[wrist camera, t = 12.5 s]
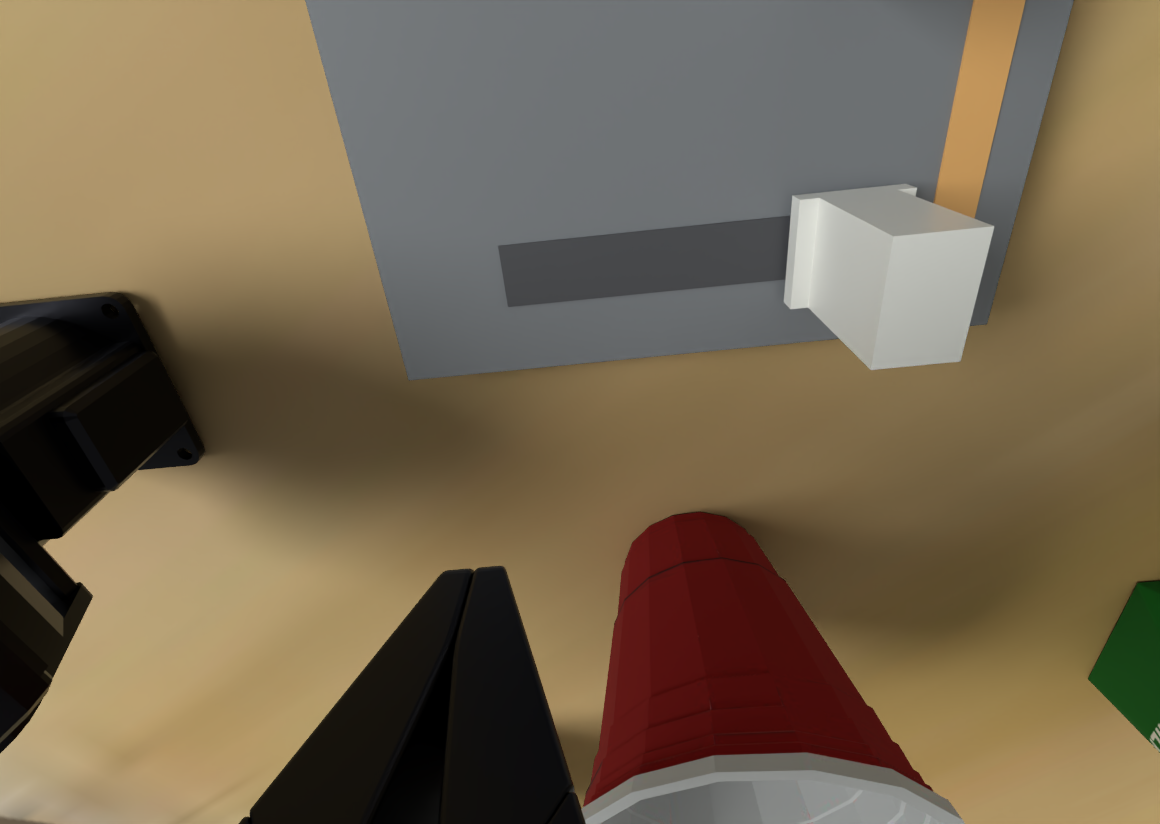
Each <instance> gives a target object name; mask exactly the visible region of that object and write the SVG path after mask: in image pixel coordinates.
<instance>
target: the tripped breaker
mask: <svg viewBox="0 0 1160 824" xmlns="http://www.w3.org/2000/svg"><path fill="white" fill-rule="evenodd" d="M916 191H917V188H916V187H914V186H911V185H908V184H898V185H888V186H879V187H869V188H859V189H850V190H840V191H830V192H821V193H811V194H802V195H792V206H791V218H790V231H789V243H788V255H787V267H786V280H785V292H784V303H785V304H786V305H787V306H788V307H789V308H790V309H799V308H809V309H810V310H811V311H812V312H813V313H814V314H815V315H816V316H817V317H818V318H819V319H820V320H821V321H822V322H823V323H824V324H825V325H826V326H827V327H828V328H829V329H830V330H831V331H832V332H833V333H834V334H835V335H836V336H837V337H838V338H839V339H840V340H841V341H842V342H843V343H844V344H845V345H846V346H847V347H848V348H849V349H850V350H851V351H852V352H853V353H854V354H855V355H856V356H857V357H858V358H859V359H860V360H861V361H862V362H863V363H864V364H865V365H866V366H867V367H868V368H869V369H870V370H876V369H887V368H897V367H908V366H918V365H929V364H939V363H950V362H960V361H961V357H962V353H963V349H964V345H965V341H966V337H967V333H968V329H969V325H970V321H971V317H972V313H973V309H974V305H975V302H976V298H977V294H978V290H979V286H980V282H981V278H982V274H983V270H984V266H985V262H986V258H987V254H988V250H989V246H990V242H991V238H992V234H993V230H994V226H993V225H990V224H987V223H985V222H982V221H979V220H977V219H974V218H971V217H969V216H966V215H963V214H961V213H958V212H955V211H953V210H950V209H947V208H945V207H942V206H939V205H937V204H934V203H931V202H929V201H926V200H923V199H921V198H918V197H916Z"/></svg>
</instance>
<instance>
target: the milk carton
mask: <svg viewBox="0 0 1160 824" xmlns="http://www.w3.org/2000/svg"><path fill="white" fill-rule="evenodd" d="M1088 680H1089V681H1090V682H1091V683H1092V684H1093V685H1094V686H1095V687H1096V688H1097V689H1098V690H1099V691H1100V692H1101V693H1102V694H1103V695H1104V696H1105V697H1106V698H1107V699H1108V700H1109V701H1110V702H1111V703H1112V704H1113V705H1114V706H1115V707H1116V708H1117V709H1118V710H1119V711H1120V712H1121V713H1122V714H1123V715H1124V716H1125V717H1126V718H1127V719H1128V720H1129V721H1130V723H1131V724H1132V725H1133V726H1134V727H1135V728H1136V729H1137V730H1138V731H1139V732H1140V733H1141V734H1142V735H1143V736H1144V737H1145V738H1146V739H1147V740H1148V741H1149V742H1150V743H1151V744H1152V745H1153V746H1154V747H1155V748H1156V749H1157V750H1158V751H1159V752H1160V581H1153V582H1142V583H1137V585H1136V587H1135V589H1134V591H1133V593H1132V595H1131V597H1130V599H1129V601H1128V602H1127V604H1126V606H1125V608H1124V610H1123V612H1122V614H1121V616H1120V618H1119V620H1118V622H1117V624H1116V626H1115V628H1114V630H1113V631H1112V633H1111V635H1110V637H1109V639H1108V641H1107V643H1106V645H1105V647H1104V649H1103V651H1102V653H1101V655H1100V657H1099V659H1098V660H1097V662H1096V664H1095V666H1094V668H1093V670H1092V672H1091V674H1090V676H1089V678H1088Z"/></svg>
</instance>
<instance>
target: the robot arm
mask: <svg viewBox="0 0 1160 824" xmlns="http://www.w3.org/2000/svg"><path fill="white" fill-rule="evenodd" d="M110 304H111V305H113V306H114V307H115V308H116V309H117V310H118V313H119V314H117V313H115V312H113V310H112V309H111V308H110ZM184 448H185V449H187V450H189V451H190V452H191V453H189V452H187V451H186V450H185V449H184ZM204 453H205V449H204V446H203V444H202V442H201V440H200V438H199V436H198V434H197V432H196V430H195V428H194V426H193V424H192V422H191V420H190V418H189V416H188V414H187V412H186V410H185V408H184V406H183V404H182V402H181V400H180V398H179V396H178V394H177V392H176V390H175V388H174V386H173V384H172V382H171V380H170V378H169V376H168V374H167V372H166V370H165V368H164V366H163V364H162V362H161V360H160V358H159V356H158V354H157V352H156V350H155V348H154V346H153V344H152V342H151V340H150V338H149V336H148V334H147V332H146V330H145V328H144V326H143V324H142V322H141V320H140V318H139V316H138V314H137V312H136V310H135V308H134V306H133V304H132V303H131V302H130V300H129V299H128V298H126V297H125V296H124V295H121V294H119V293H115V292H106V293H97V294H87V295H77V296H67V297H58V298H48V299H38V300H29V301H19V302H9V303H0V753H1V752H2V751H3V750H4V749H5V748H6V747H7V746H8V745H9V744H10V743H11V742H12V741H13V740H14V739H15V738H16V737H17V736H18V734H19V733H20V732H21V731H22V730H23V728H24V727H25V726H26V725H27V723H28V722H29V721H30V719H31V718H32V716H33V715H34V713H35V711H36V710H37V708H38V706H39V705H40V703H41V701H42V699H43V697H44V696H45V695H46V694H47V692H48V690H49V687H50V685H51V682H52V679H53V677H54V675H55V672H56V670H57V668H58V666H59V664H60V662H61V660H62V658H63V656H64V654H65V652H66V650H67V648H68V646H69V644H70V642H71V640H72V638H73V636H74V634H75V632H76V630H77V628H78V626H79V624H80V622H81V620H82V618H83V616H84V614H85V612H86V610H87V608H88V606H89V604H90V602H91V600H92V598H93V595H92V594H91V593H90V592H89V591H88V590H87V589H86V587H85V586H84V585H83V584H82V583H81V582H79V583H76V582H75V581H74V580H73V579H72V578H71V577H70V576H69V575H68V574H67V573H66V571H65V570H64V569H63V568H62V567H61V566H60V565H59V564H58V563H57V562H56V561H55V559H54V558H53V557H52V556H51V555H50V554H49V553H48V552H47V551H46V550H45V549H44V548H43V545H44V544H46V543H47V542H48V541H49V540H50V539H58V538H60V537H62V536H63V535H65V534H66V533H67V532H68V531H69V530H70V529H71V528H72V527H73V526H74V525H75V524H76V523H77V522H78V521H79V520H80V519H82V518H83V517H84V516H85V515H86V514H87V513H88V512H89V511H90V510H91V509H92V508H93V507H94V506H95V505H96V504H97V503H99V502H100V501H101V500H102V499H103V498H104V497H105V496H106V495H107V494H108V493H109V492H110V491H115V490H116V489H118V488H119V487H120V486H121V485H122V484H123V483H124V482H125V481H126V480H127V479H129V478H130V477H131V476H132V475H133V474H134V473H135V472H136V471H137V470H144V469H155V468H166V467H176V466H187V465H193V464H196V463H197V462H198V461H199V460H200V459H201V458H202V456H203V455H204ZM239 824H586V823H585V819H584V816H583V813H582V810H581V807H580V803H579V800H578V797H577V795H576V793H575V791H574V786H573V782H572V779H571V776H570V773H569V770H568V766H567V763H566V760H565V757H564V754H563V750H562V747H561V744H560V741H559V738H558V734H557V731H556V728H555V725H554V722H553V718H552V715H551V712H550V709H549V706H548V703H547V699H546V696H545V693H544V690H543V687H542V683H541V680H540V677H539V674H538V671H537V667H536V664H535V661H534V658H533V655H532V651H531V648H530V645H529V642H528V639H527V635H526V632H525V629H524V626H523V623H522V619H521V616H520V613H519V610H518V607H517V604H516V600H515V597H514V594H513V591H512V588H511V584H510V581H509V578H508V575H507V572H506V569H505V568H504V567H503V566H492V567H481V568H477V569H476V570H475V571H474V570H472V569H458V570H447V571H444V572H443V573H442V574H441V575H440V576H439V577H438V578H437V579H436V581H435V582H434V583H433V584H432V586H431V587H430V588H429V589H428V590H427V592H426V593H425V594H424V595H423V597H422V598H421V599H420V600H419V602H418V603H417V604H416V605H415V607H414V608H413V609H412V610H411V612H410V613H409V614H408V615H407V616H406V618H405V619H404V620H403V621H402V623H401V624H400V625H399V626H398V628H397V629H396V630H395V631H394V633H393V634H392V635H391V636H390V637H389V639H388V640H387V641H386V642H385V644H384V645H383V646H382V647H381V649H380V650H379V651H378V652H377V654H376V655H375V656H374V657H373V659H372V660H371V661H370V662H369V663H368V665H367V666H366V667H365V668H364V670H363V671H362V672H361V673H360V675H359V676H358V677H357V678H356V680H355V681H354V682H353V683H352V684H351V686H350V687H349V688H348V689H347V691H346V692H345V693H344V694H343V696H342V697H341V698H340V699H339V701H338V702H337V703H336V704H335V706H334V707H333V708H332V709H331V710H330V712H329V713H328V714H327V715H326V717H325V718H324V719H323V720H322V722H321V723H320V724H319V725H318V727H317V728H316V729H315V730H314V731H313V733H312V734H311V735H310V736H309V738H308V739H307V740H306V741H305V743H304V744H303V745H302V746H301V748H300V749H299V750H298V751H297V753H296V754H295V755H294V756H293V757H292V759H291V760H290V761H289V762H288V764H287V765H286V766H285V767H284V769H283V770H282V771H281V772H280V774H279V775H278V776H277V777H276V779H275V780H274V781H273V782H272V783H271V785H270V786H269V787H268V788H267V790H266V791H265V792H264V793H263V795H262V796H261V797H260V798H259V800H258V801H257V802H256V803H255V804H254V806H253V807H252V808H251V810H250V817H244V818H243V819H242V820H241V821H240V823H239Z"/></svg>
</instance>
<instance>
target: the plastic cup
mask: <svg viewBox="0 0 1160 824" xmlns="http://www.w3.org/2000/svg"><path fill="white" fill-rule="evenodd" d="M581 810H582V813H583V816H584V819H585V823H586V824H965V823H964V821H963V820H962V818H961V817H960V816H959V814H958V813H957V812H956V810H955V809H954V807H953V806H952V805H951V803H950V802H949V801H948V800H947V799H945V798H943V797H942V796H940V795H938V794H936V793H934V792H933V790H932V788H931V787H930V786H929V785H927V784H925V783H924V781H923V779H922V777H921V776H920V774H919V773H918V772H917V771H915V770H913V768H912V767H911V765H910V763H909V762H908V760H907V758H906V757H905V755H904V753H903V752H902V750H901V748H900V747H899V745H898V744H897V743H895V742H893V741H892V740H891V738H890V736H889V735H888V733H887V731H886V730H885V728H884V726H883V725H882V723H881V721H880V720H879V718H878V717H877V715H876V713H875V712H874V710H873V708H871V707H869V706H868V705H867V704H866V703H865V701H864V700H863V698H862V697H861V695H860V694H859V692H858V691H857V689H856V688H855V686H854V685H853V683H852V682H851V680H850V679H849V677H848V676H847V674H846V673H845V671H844V669H843V668H842V666H841V665H840V663H839V662H838V660H837V659H836V657H835V656H834V654H833V653H832V651H831V650H830V648H829V647H828V645H827V644H826V642H825V641H824V639H823V638H822V636H821V634H820V633H819V631H818V630H817V628H816V627H815V625H814V624H813V622H812V621H811V619H810V618H809V616H808V615H807V613H806V612H805V610H804V609H803V607H802V606H801V604H800V603H799V601H798V599H797V598H796V596H795V595H794V593H793V592H792V590H791V589H790V587H789V586H788V584H787V583H786V581H785V580H784V579H782V578H781V577H779V576H778V574H777V572H776V571H775V569H774V568H773V566H772V565H771V563H770V562H769V560H768V559H767V557H766V556H765V554H764V553H763V551H762V550H761V548H760V547H759V545H758V544H757V542H756V541H755V539H754V538H753V537H752V536H751V535H749V534H748V533H747V531H746V530H745V529H744V528H743V527H741V526H740V525H738V524H736V523H735V522H733V521H732V520H730V519H728V518H727V517H724V516H719V515H714V514H709V513H703V512H696V513H688V514H680V515H673V516H671V517H669V518H666V519H664V520H662V521H660V522H658V523H655V524H653V525H651V526H649V527H648V528H647V529H646V530H645V531H644V532H643V533H642V534H641V535H640V536H639V537H638V538H637V539H636V540H635V541H634V542H633V543H632V545H631V548H630V550H629V553H628V555H627V558H626V560H625V565H624V568H623V570H622V574H621V585H620V596H619V607H618V616H617V619H616V621H615V623H614V631H613V639H612V647H611V655H610V663H609V671H608V679H607V687H606V695H605V703H604V711H603V719H602V727H601V735H600V743H599V751H598V753H597V755H596V757H595V760H594V766H593V772H592V778H591V784H590V786H589V788H588V790H587V792H586V796H585V801H584V806H583V808H582V809H581Z"/></svg>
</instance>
